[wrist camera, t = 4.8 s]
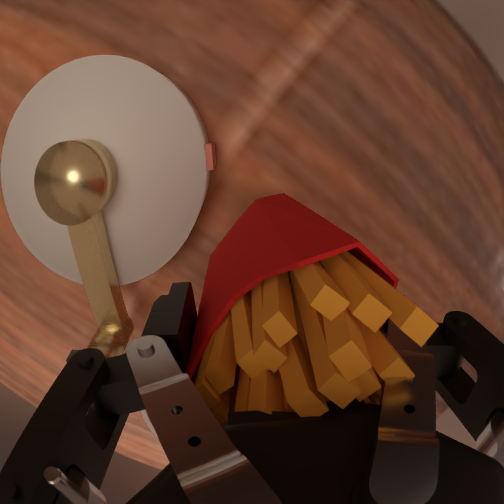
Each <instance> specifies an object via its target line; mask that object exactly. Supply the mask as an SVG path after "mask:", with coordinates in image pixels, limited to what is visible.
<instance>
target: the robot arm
mask: <svg viewBox="0 0 504 504" xmlns="http://www.w3.org/2000/svg"><path fill="white" fill-rule="evenodd" d="M196 322H197V312H196V306H195V301H194V295H193V289H192V285H191V282H180V283H173V284H172V286H171V289H170V292H169V295H161V296H160V297H159V298H158V299H157V300H156V301H155V302H154V304H153V307H152V309H151V312H150V315H149V318H148V320H147V323H146V325H145V328H144V331H143V334H142V337H139V338H137V339H135V340H133V341H132V342H131V343H130V344H129V345H128V347H127V349H126V353H125V354H122V355H118V356H113V357H109V358H105V356H104V354H103V352H102V351H101V350H99V349H96V348H87V349H83V350H80V351H78V352H77V353H75V354H74V355H73V356H72V357H71V358H70V360H69V361H68V362H67V364H66V365H65V367H64V368H63V370H62V371H61V373H60V374H59V376H58V377H57V379H56V380H55V382H54V383H53V385H52V386H51V388H50V389H49V391H48V392H47V394H46V395H45V397H44V398H43V400H42V402H41V403H40V405H39V406H38V408H37V410H36V411H35V413H34V414H33V416H32V418H31V419H30V421H29V423H28V424H27V426H26V428H25V429H24V431H23V433H22V434H21V436H20V438H19V439H18V441H17V443H16V445H15V447H14V448H13V450H12V452H11V454H10V455H9V457H8V459H7V461H6V463H5V465H4V466H3V468H2V470H1V472H0V504H106V499H105V497H104V495H103V493H102V492H101V491H100V487H101V484H102V482H103V479H104V476H105V474H106V471H107V468H108V466H109V463H110V461H111V458H112V455H113V453H114V450H115V448H116V445H117V443H118V440H119V438H120V435H121V433H122V430H123V428H124V425H125V423H126V420H127V418H128V415H129V413H132V412H136V411H141V410H145V409H146V411H147V413H148V415H149V418H150V420H151V423H152V425H153V427H154V429H155V432H156V434H157V436H158V438H159V441H160V443H161V445H162V447H163V449H164V451H165V453H166V455H167V458H168V460H169V462H170V463H169V464H168V465H167V466H166V467H165V468H164V469H163V470H162V471H161V472H160V473H159V474H158V475H157V476H156V477H155V478H154V479H153V480H152V481H150V482H149V483H148V484H147V485H146V486H145V487H144V488H143V489H142V490H140V491H139V492H138V493H137V494H136V495H135V496H134V497H133V498H132V499H131V500H129V501H128V502H127V503H126V504H504V344H503V343H502V342H501V341H500V340H498V339H497V338H496V337H495V336H494V335H493V334H492V333H490V332H489V331H488V330H487V329H486V328H485V327H484V326H482V325H481V324H480V323H479V322H478V321H477V320H475V319H474V318H473V317H472V316H470V315H469V314H467V313H464V312H461V311H451V312H449V313H447V314H446V315H445V317H444V320H443V323H437V324H438V325H439V326H438V327H437V329H436V330H435V331H434V332H433V334H432V335H431V336H430V337H429V339H428V340H427V341H426V342H425V344H424V345H423V346H422V347H421V346H420V345H418V344H417V343H416V342H415V341H414V340H412V339H411V338H410V337H409V336H408V335H407V334H405V333H404V332H403V331H402V330H401V329H399V328H398V327H397V326H396V325H395V324H394V322H393V321H392V320H391V319H390V318H388V319H387V320H386V321H385V322H384V325H383V327H382V329H381V330H380V331H381V332H382V334H383V335H384V336H385V337H386V339H387V340H388V341H389V342H390V344H391V345H392V346H393V347H394V349H395V350H396V351H397V353H398V354H399V355H400V356H401V358H402V359H403V360H404V362H405V363H406V364H407V365H408V367H409V368H410V369H411V371H412V372H413V373H414V375H415V377H413V378H412V379H411V380H410V381H409V382H408V381H407V380H406V377H386V379H385V381H384V380H383V381H382V390H381V397H380V396H379V395H378V394H377V397H376V398H377V399H378V401H379V402H380V403H379V404H371V403H365V402H364V400H362V401H361V402H359V401H358V400H357V398H355V399H354V400H353V401H351V402H350V403H349V404H348V405H347V406H346V407H345V408H344V409H342V408H340V407H339V406H338V405H336V404H335V403H334V402H332V401H331V400H330V401H328V402H326V404H327V406H328V409H329V411H327V412H326V413H324V414H323V415H321V416H308V417H300V416H299V415H298V414H297V413H296V412H281V411H272V414H268V413H265V412H261V411H259V410H253V411H241V412H228V422H225V423H222V424H219V423H218V421H217V420H216V418H215V417H214V415H213V414H212V412H211V411H210V409H209V408H208V406H207V405H206V403H205V401H204V400H203V398H202V397H201V395H200V394H199V392H198V390H197V389H196V387H195V386H194V384H193V382H192V381H191V379H190V378H189V376H188V375H187V367H188V362H189V357H190V352H191V346H192V341H193V336H194V331H195V326H196ZM464 358H465V359H466V360H467V361H468V362H469V363H470V364H471V365H472V366H473V367H474V368H475V369H476V371H477V375H478V379H477V382H476V383H475V382H474V380H473V379H472V378H471V377H470V376H469V375H468V374H467V373H466V372H465V371H464V370H463V369H462V367H461V365H462V363H463V360H464ZM436 391H437V392H438V393H439V395H440V396H441V397H442V398H443V400H444V401H445V402H446V403H447V405H448V406H449V407H450V408H451V410H452V411H453V412H454V414H455V415H456V416H457V417H458V418H459V420H460V421H461V423H462V424H463V425H464V426H465V428H466V429H467V430H468V432H469V433H470V434H471V436H472V437H473V438H474V440H475V441H476V448H477V450H475V449H473V448H471V447H469V446H467V445H464V444H463V443H460V442H458V441H456V440H454V439H452V438H450V437H448V436H446V435H444V434H442V433H440V432H438V431H436ZM89 408H90V409H89ZM88 410H89V411H88ZM87 412H88V413H87ZM86 414H87V415H86Z"/></svg>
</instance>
